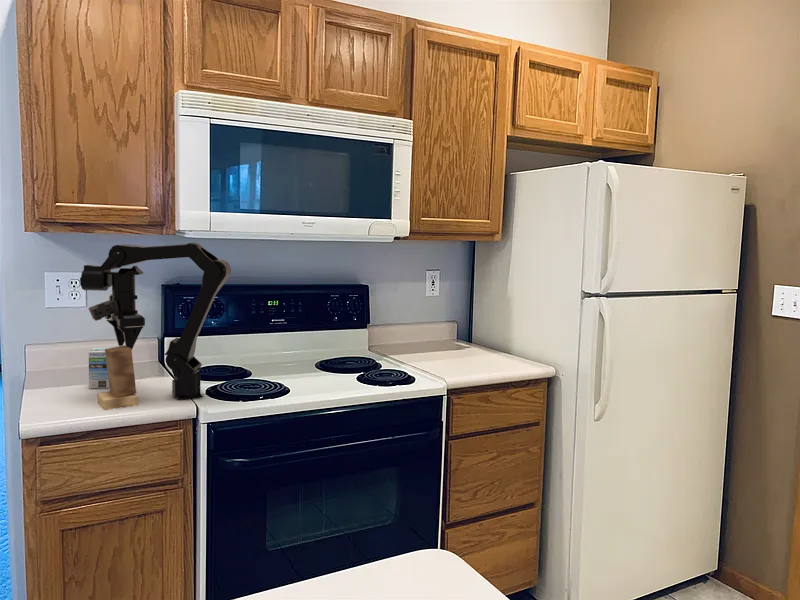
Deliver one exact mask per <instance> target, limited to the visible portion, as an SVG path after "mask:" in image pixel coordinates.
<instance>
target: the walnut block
mask: <svg viewBox="0 0 800 600" xmlns="http://www.w3.org/2000/svg"><path fill="white" fill-rule="evenodd" d="M107 348H108V349H105V354H106V363H107V371H108V379H109V388H108V389H109V392H110V394H112V395H113V396H115V397H116V398H118V397H122V396H126V395H130V394H135V395H136V394H137V386H136V378H135V370H134V359H133V351H132V350H133V349H131V348H129V347H127V346H126V345H125V344H123V346H119V345H118V346H115V347H107Z"/></svg>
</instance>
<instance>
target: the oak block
mask: <svg viewBox="0 0 800 600" xmlns="http://www.w3.org/2000/svg"><path fill="white" fill-rule="evenodd" d="M138 401H139V400H138V395H137V394H136V393H135V394H130V395H126V396H122V397H118V398H116V397H115V396H113V395H112V394H110V391H107V392H106V391H105V392H98V393H97V403H98V405H100V407H101V406H102V407H101V408H102V410H104V411H106V410H113V408H115V409H120V408H119V407H122V408H128V407H127V406H130V407H134V406H133V405H138Z"/></svg>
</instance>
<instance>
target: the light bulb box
mask: <svg viewBox="0 0 800 600" xmlns="http://www.w3.org/2000/svg"><path fill="white" fill-rule="evenodd" d="M108 348H109V347H93V348H91V349H90V350H89V351H88V389H89V390H93V388H94V390H95V388H98V389H110V388H109V379H108V371H107V363H106V354H105V349H108ZM91 388H92V389H91Z"/></svg>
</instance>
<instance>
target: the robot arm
mask: <svg viewBox="0 0 800 600" xmlns="http://www.w3.org/2000/svg"><path fill="white" fill-rule="evenodd" d="M180 258H181V259H182V258H188V259H190V260H192V261H193V262H194V264H195V265H196V266H197V267H198V268H200V270H201V271H203V275H202V280H201V288H200V292H199V294H198V296H197V299H196V300H195V304H194V305H193V308H192V309H191V312H190V314H189V317H188V319H187V321H186V323H185V326H184V328H183V331H182V332H181V335H180V337H175V338H173V339H172V340H170V342H169V344H168V349H167V351H166V352H165V353H164V356H166V357H165V363H166V365H167V367H168V369H170V370H171V373H172V375H173V379H172V381H171V382H172V385H171V386H172V387H171V390H172V393H171V394H172V396H174V398H176V399H178V400H179V401H180V400H188V399H196V398H197V399H198V398H203V394H202V392H201V373H200V371H201V367H202V365H203V364H202V363H201V361H200V360H198V359H197V358H196V357H195V353H196V348H197V347H196V346H197V339H198V336H199V334H200V333H201V329H202V327H203V325H204V324H205V321H206V318H207V316H208V313H209V311H210V309H211V307H212V305H213V302H214V300H215V298H216V297H217V296H216V295H217V294H218V293H219V291H220V290H221V289H222V287H223V286H224V285H225V283H226V282H227V280H228V279H229V277H230V276H231V274H232V267H231V265H230V264H229V262H228V261H226V260H225V259H220V258H218V257H217V256H216V255H214V254H212V252H210V251H208V250H207V249H205V248H204V247H203V246H202V245H201V244H200V243H198V242H193V241H192V242H189V243H182V244H181V243H180V244H170V245H169V244H167V245H153V246H147V245H137V244H128V243H125V244H115V245H113V246H111V248H110V249H109V251H108V257H107V258H106V259H105V261H104V262H103V263H102V264H101V265H92V264H85V265H83V270H82V271H81V276H80V277H79V283H80V287H81V289H82V291H101V292H102V291H103V292H104V291H108V290H109V288H111V291H112V292H111V294H110V295H108V296H109V299H108V300H107V301H104V302H103V301H102V302H100V303H97V304H95V305H92V306H89V308H88V311H89V314H90V315H91V317H92V320H94V321H100V320H102V319H103V318H104V319H106V322H107V323H109V324H110V325H111V326H112V327H113V328H112V329H113V330H114V333H115V334H114V335H115V337H116V341H117V346H118V347H119V346H124V345H125V346H127V347H129V348H131V349H132V350H133V348H134V346H135V344H136V342H137V340H138V337H139V335H140V334H141V331H142V329H143V328H144V326H146V318H145V317H144V316H143V315H141V314H140V313H138V311H139V310H137V308H136V300H138V295H137V294H136V276H139V275H143V274H144V271H143V270H141V269H140V268H139V266H138V265H135V264H139V263H144V262H146V261H153V260H154V261H155V260H166V259H167V260H168V259H180ZM132 265H133V266H132ZM125 266H132V267H130V268H128V267H125ZM122 267H124V268H122ZM116 269H117V270H118V269H119V270H118V271H112V270H116Z"/></svg>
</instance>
